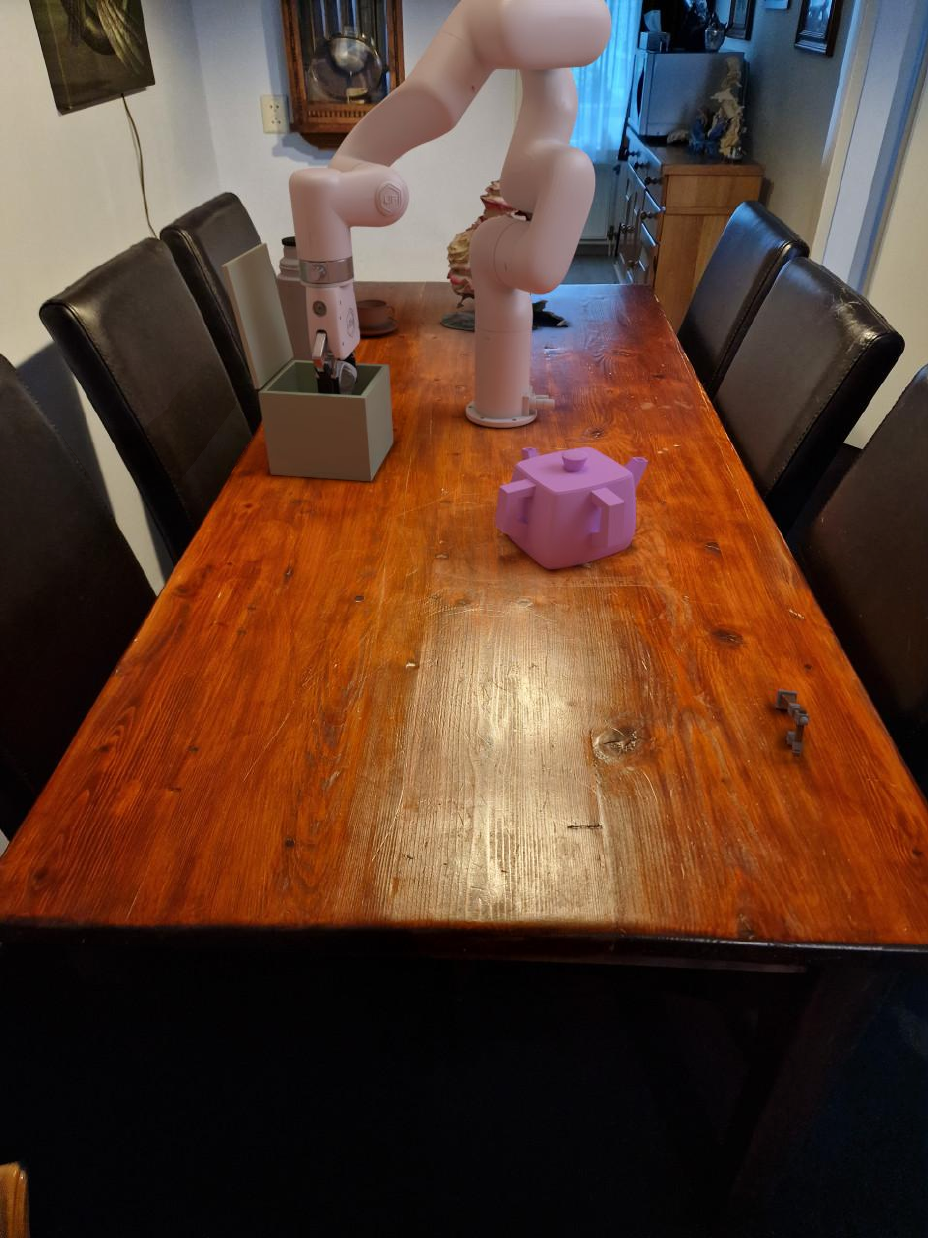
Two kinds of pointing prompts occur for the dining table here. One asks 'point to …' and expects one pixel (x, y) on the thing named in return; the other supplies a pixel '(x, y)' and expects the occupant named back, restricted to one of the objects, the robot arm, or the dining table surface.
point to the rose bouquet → (461, 264)
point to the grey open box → (327, 423)
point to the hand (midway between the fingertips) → (339, 392)
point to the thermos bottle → (294, 302)
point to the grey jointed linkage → (800, 716)
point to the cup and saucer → (375, 317)
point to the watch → (345, 376)
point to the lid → (258, 313)
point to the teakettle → (570, 505)
